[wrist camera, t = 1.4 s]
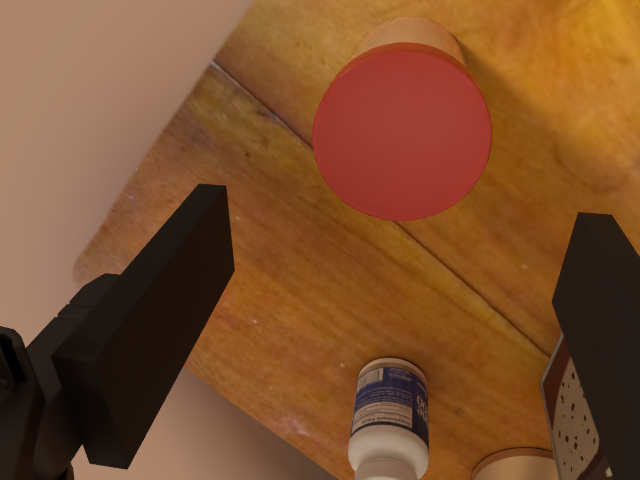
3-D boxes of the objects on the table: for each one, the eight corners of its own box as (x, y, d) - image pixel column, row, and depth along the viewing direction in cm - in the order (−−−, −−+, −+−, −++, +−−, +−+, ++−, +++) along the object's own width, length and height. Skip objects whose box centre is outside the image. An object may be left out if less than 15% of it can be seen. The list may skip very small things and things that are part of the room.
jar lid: (317, 196, 24) (310, 214, 22) (317, 38, 20) (309, 47, 19) (472, 208, 23) (476, 228, 21) (501, 44, 19) (508, 54, 18)
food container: (618, 412, 38) (675, 551, 30) (533, 397, 39) (564, 528, 30) (696, 277, 32) (797, 406, 23) (592, 261, 32) (653, 381, 24)
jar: (345, 132, 30) (319, 205, 22) (349, 14, 27) (319, 51, 19) (457, 138, 30) (470, 217, 22) (474, 17, 26) (498, 58, 18)
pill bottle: (424, 408, 41) (425, 529, 33) (357, 400, 42) (341, 516, 34) (431, 358, 38) (434, 476, 30) (358, 351, 39) (342, 464, 31)
